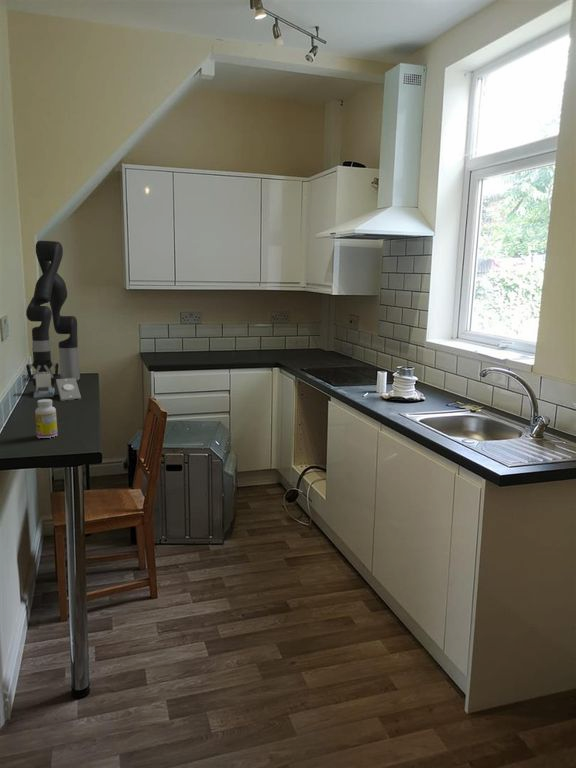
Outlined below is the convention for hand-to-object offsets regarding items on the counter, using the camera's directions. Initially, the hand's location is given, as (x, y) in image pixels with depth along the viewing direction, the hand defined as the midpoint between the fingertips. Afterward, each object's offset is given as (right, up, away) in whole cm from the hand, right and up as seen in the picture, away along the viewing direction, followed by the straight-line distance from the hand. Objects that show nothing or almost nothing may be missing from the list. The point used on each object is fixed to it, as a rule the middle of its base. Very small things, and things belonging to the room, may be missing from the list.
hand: (44, 386), depth 274 cm
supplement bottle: (+30, -17, -69) cm, 77 cm away
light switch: (+14, -5, -6) cm, 16 cm away
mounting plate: (0, -4, +1) cm, 4 cm away
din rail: (0, -2, 0) cm, 2 cm away
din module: (0, -1, 0) cm, 1 cm away
